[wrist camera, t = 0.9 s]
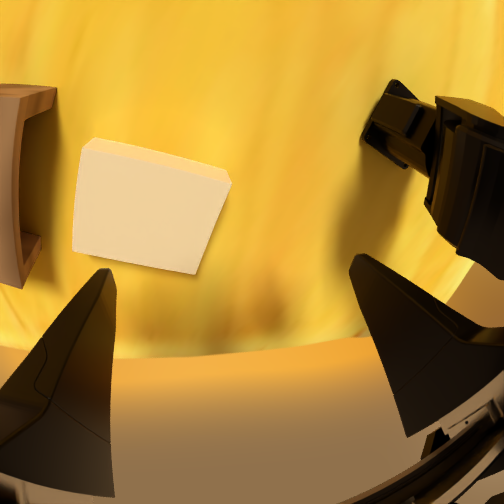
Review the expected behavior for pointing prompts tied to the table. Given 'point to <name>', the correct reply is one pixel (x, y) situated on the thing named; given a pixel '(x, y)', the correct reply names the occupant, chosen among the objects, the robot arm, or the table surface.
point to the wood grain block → (16, 179)
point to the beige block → (145, 205)
